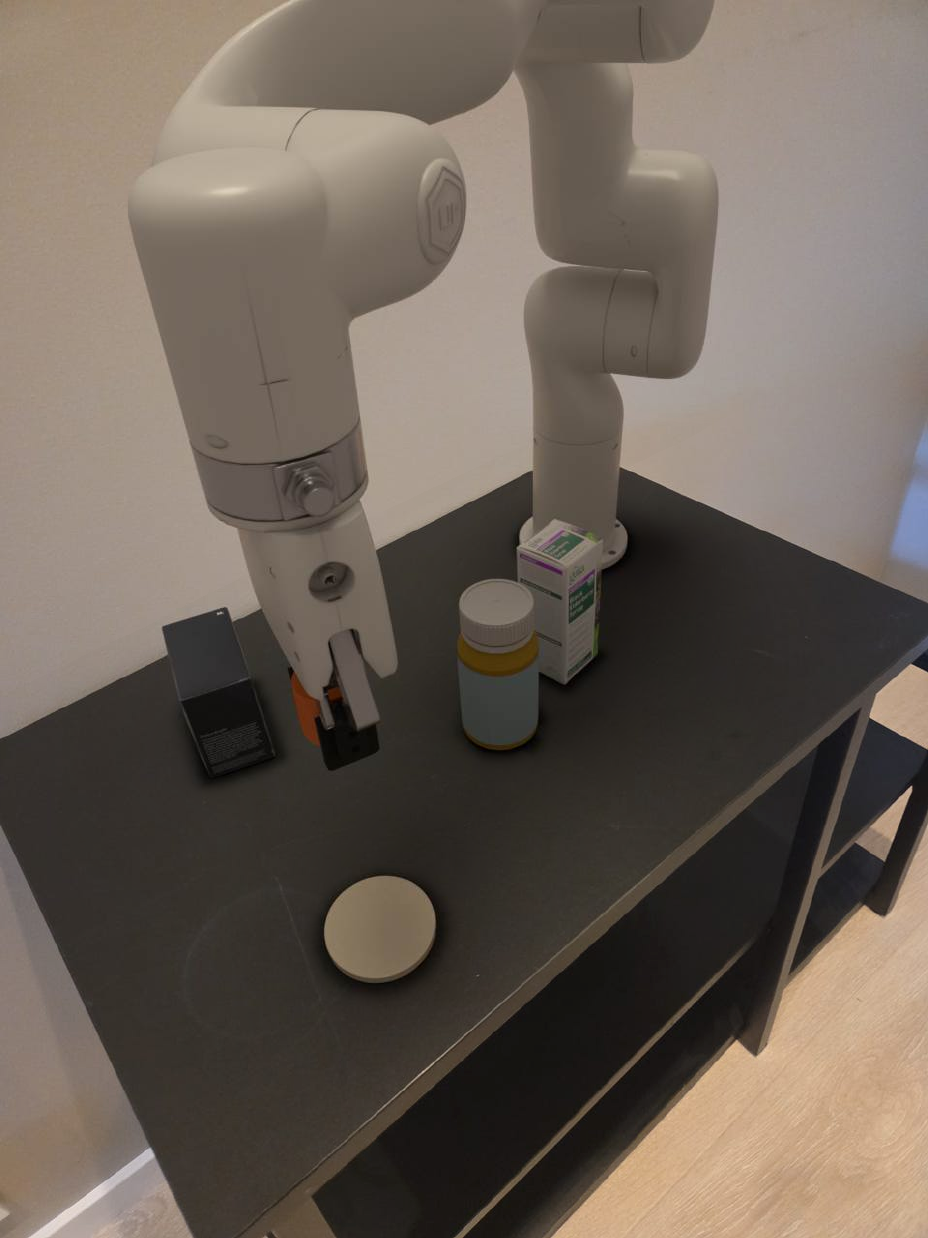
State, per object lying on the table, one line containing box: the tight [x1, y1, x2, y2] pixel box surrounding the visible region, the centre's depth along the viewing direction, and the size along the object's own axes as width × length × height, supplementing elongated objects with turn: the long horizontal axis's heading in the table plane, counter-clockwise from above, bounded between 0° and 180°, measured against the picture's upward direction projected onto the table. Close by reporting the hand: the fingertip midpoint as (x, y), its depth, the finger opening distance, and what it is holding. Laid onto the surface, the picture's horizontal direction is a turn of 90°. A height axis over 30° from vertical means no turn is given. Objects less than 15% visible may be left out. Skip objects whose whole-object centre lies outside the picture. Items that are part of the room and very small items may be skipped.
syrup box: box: [516, 519, 603, 685], centre depth 83 cm, size 6×6×14 cm
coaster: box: [323, 875, 437, 984], centre depth 65 cm, size 8×8×1 cm
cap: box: [290, 672, 343, 747], centre depth 49 cm, size 4×4×4 cm
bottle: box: [456, 578, 540, 751], centre depth 76 cm, size 7×7×15 cm
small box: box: [161, 606, 276, 779], centre depth 79 cm, size 11×6×10 cm, turn 23°
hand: (338, 731), depth 51 cm, fingers closed on cap, 3 cm apart
